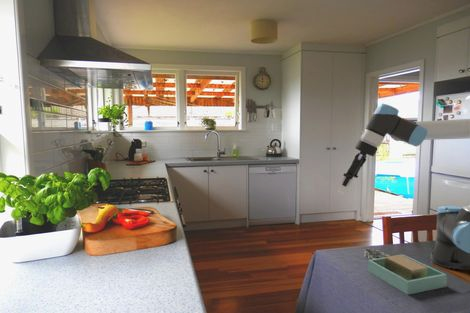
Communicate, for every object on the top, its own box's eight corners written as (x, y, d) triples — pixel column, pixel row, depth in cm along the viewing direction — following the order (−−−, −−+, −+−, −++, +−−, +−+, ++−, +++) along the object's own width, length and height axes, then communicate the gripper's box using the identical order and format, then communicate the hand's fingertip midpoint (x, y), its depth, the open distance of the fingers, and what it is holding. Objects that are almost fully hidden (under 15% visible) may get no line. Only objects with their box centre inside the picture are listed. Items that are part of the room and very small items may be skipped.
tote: (402, 266, 125) (403, 254, 125) (446, 288, 107) (446, 274, 107) (367, 272, 120) (367, 259, 120) (407, 296, 103) (407, 282, 102)
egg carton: (391, 266, 127) (391, 256, 126) (372, 266, 127) (372, 256, 126) (380, 255, 137) (380, 246, 137) (362, 255, 137) (362, 246, 137)
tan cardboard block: (399, 269, 121) (400, 254, 120) (427, 284, 109) (427, 267, 109) (384, 272, 119) (384, 256, 118) (410, 287, 107) (411, 270, 107)
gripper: (362, 140, 134) (338, 184, 138) (356, 137, 111) (328, 189, 116) (379, 148, 131) (354, 193, 135) (377, 146, 109) (347, 200, 113)
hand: (342, 191), depth 125 cm, fingers open, 13 cm apart
